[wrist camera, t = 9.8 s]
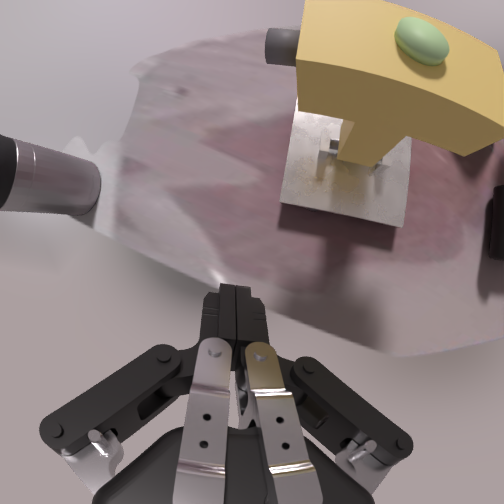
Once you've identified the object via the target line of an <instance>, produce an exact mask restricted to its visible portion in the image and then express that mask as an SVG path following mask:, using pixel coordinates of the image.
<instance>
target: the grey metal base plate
mask: <svg viewBox="0 0 504 504" xmlns="http://www.w3.org/2000/svg"><path fill="white" fill-rule="evenodd" d="M342 122H343V119H339V118H334V117H329V116H324V115H318V114H312V113H306V112H300V111H298V97H297V102H296V108H295V114H294V120H293V126H292V132H291V138H290V144H289V150H288V155H287V161H286V167H285V173H284V178H283V184H282V190H281V195H280V201H279V202H280V203H284V204H289V205H295V206H300V207H305V208H307V209H308V210H310V211H314V212H316V211H320V210H321V211H326V212H330V213H335V214H340V215H345V216H349V217H354V218H359V219H363V220H368V221H372V222H376V223H381V224H385V225H389V226H393V227H397V228H403V223H404V216H405V209H406V201H407V192H408V183H409V172H410V158H411V138H412V137H408V136H406V137H405V138H403V139H402V140H401V141H400V142H399V143H398V144H397V145H396V146H395V147H394V148H393V149H392V150H390V151H389V152H388V153H387V154H386V155H385V156H384V157H383V158H382V159H381V160H380V161H378V162H377V163H376V164H375V165H374V166H373V167H368V166H364V165H360V164H355V163H351V162H347V161H342V160H337V153H338V146H339V138H340V129H341V125H342Z"/></svg>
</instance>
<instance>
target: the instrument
mask: <svg viewBox="0 0 504 504" xmlns="http://www.w3.org/2000/svg"><path fill="white" fill-rule="evenodd" d="M265 58H266V62H267V64H276V65H286V66H295V67H296V73H297V97H298V111H300V112H306V113H312V114H318V115H324V116H329V117H334V118H339V119H343V122H342V125H341V129H340V138H339V146H338V153H337V160H342V161H347V162H351V163H355V164H360V165H364V166H368V167H373V166H374V165H375V164H376V163H377V162H378V161H380V160H381V159H382V158H383V157H384V156H385V155H386V154H387V153H388V152H389V151H390V150H392V149H393V148H394V147H395V146H396V145H397V144H398V143H399V142H400V141H401V140H402V139H403V138H405V137H406V136H408V137H412V138H415V139H418V140H421V141H424V142H427V143H430V144H432V145H435V146H438V147H441V148H443V149H446V150H449V151H451V152H454V153H456V154H459V155H461V156H464V157H465V156H467V155H469V154H471V153H473V152H475V151H478V150H480V149H482V148H484V147H486V146H488V145H490V144H493V143H495V142H497V141H499V140H501V139H503V138H504V73H503V69H502V65H501V61H500V58H499V55H498V52H497V50H495V49H494V48H492V47H490V46H488V45H487V44H485V43H484V42H482V41H480V40H478V39H476V38H475V37H473V36H471V35H469V34H467V33H465V32H463V31H461V30H459V29H457V28H455V27H453V26H450V25H448V24H446V23H444V22H442V21H439V20H437V19H435V18H432V17H430V16H427V15H425V14H422V13H419V12H417V11H414V10H411V9H408V8H405V7H402V6H399V5H396V4H393V3H389V2H386V1H382V0H305V6H304V13H303V18H302V24H301V30H290V29H278V28H269V29H268V31H267V35H266V41H265Z"/></svg>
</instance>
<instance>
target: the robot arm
mask: <svg viewBox="0 0 504 504" xmlns="http://www.w3.org/2000/svg"><path fill="white" fill-rule="evenodd" d="M100 185H101V178H100V173H99V170H98V168H97V167H96V165H95V164H94V163H92V162H90V161H87V160H84V159H81V158H78V157H75V156H72V155H68V154H65V153H62V152H58V151H55V150H52V149H48V148H45V147H41V146H38V145H34V144H31V143H27V142H23V141H20V140H16V139H13V138H8V137H5V136H2V135H0V211H17V212H37V213H54V214H68V215H83V214H85V213H87V212H88V211H89V210H90V209H91V208H92V207H93V206H94V204H95V202H96V200H97V198H98V195H99V191H100ZM230 371H235V380H236V382H235V390H236V398H237V406H238V414H239V427H238V429H235V428H232V427H229V426H228V414H229V400H230V391H229V380H230ZM186 394H189V400H188V405H187V412H186V417H185V424H184V426H183V427H179V428H176V429H173V430H171V431H169V432H167V433H165V434H164V435H163V436H161V437H160V438H159V439H158V440H157V441H156V442H154V443H153V444H152V445H151V446H150V447H149V448H148V449H146V450H145V451H144V452H143V453H142V454H141V455H140V456H138V457H137V458H136V459H135V460H134V461H133V462H131V463H130V464H129V465H128V466H127V467H125V468H124V469H123V470H122V471H121V472H120V473H118V474H117V475H116V476H115V469H116V467H117V465H118V464H119V463H120V462H121V460H122V459H123V455H124V451H123V448H122V446H121V443H122V442H123V441H125V440H126V439H127V438H129V437H130V436H131V435H133V434H134V433H135V432H136V431H138V430H139V429H140V428H141V427H143V426H144V425H145V424H147V423H148V422H149V421H150V420H152V419H153V418H154V417H155V416H157V415H158V414H159V413H160V412H162V411H163V410H164V409H165V408H167V407H168V406H169V405H170V404H172V403H173V402H174V401H175V400H176V399H177V398H178V397H179V396H180V395H186ZM301 426H302V427H303V428H304V429H305V430H307V431H308V432H309V433H310V434H311V435H312V436H313V437H315V438H316V439H317V440H318V441H319V442H320V443H321V444H322V445H324V446H325V447H326V448H327V449H328V450H329V451H331V452H332V453H333V454H334V455H335V456H336V458H335V462H336V463H334V462H333V461H332V460H331V459H330V458H329V457H328V456H327V455H326V454H324V453H323V452H322V451H321V450H320V449H319V448H318V447H317V446H316V445H315V444H314V443H313V442H311V441H310V440H309V439H307V438H306V437H305V436H303V433H302V429H301ZM39 431H40V436H41V438H42V440H43V441H44V442H45V443H46V444H47V445H48V446H49V447H50V448H52V449H53V450H54V451H55V452H56V453H57V454H59V455H60V456H61V457H63V458H64V459H65V461H66V462H67V463H68V465H69V466H70V467H71V469H72V470H73V471H74V472H75V473H76V475H77V476H78V477H79V478H80V480H81V481H82V482H83V483H84V484H85V485H86V487H87V488H88V489H89V490H90V491H91V492H92V493H93V494H94V497H93V501H92V504H375V502H374V499H373V497H372V493H373V492H374V491H375V490H376V488H377V487H378V486H379V484H380V483H381V482H382V480H383V479H384V478H385V476H386V475H387V473H388V472H389V470H390V469H391V468H392V466H394V465H396V464H397V463H398V462H399V461H401V460H403V459H404V458H406V457H408V456H409V455H410V454H411V453H412V450H413V441H412V438H411V437H410V436H409V435H408V434H407V433H406V432H405V431H403V430H402V429H401V428H399V427H398V426H397V425H396V424H394V423H393V422H392V421H390V420H389V419H388V418H387V417H385V416H384V415H383V414H382V413H380V412H379V411H378V410H377V409H375V408H374V407H373V406H372V405H370V404H369V403H368V402H367V401H365V400H364V399H363V398H362V397H361V396H359V395H358V394H357V393H356V392H354V391H353V390H352V389H351V388H349V387H348V386H347V385H346V384H345V383H343V382H342V381H341V380H340V379H339V378H338V377H336V376H335V375H334V374H333V373H332V372H330V371H329V370H328V369H327V368H326V367H324V366H323V365H322V364H321V363H320V362H319V361H317V360H316V359H314V358H312V357H300V358H298V359H297V360H296V361H295V362H294V361H290V360H287V359H284V358H282V357H280V356H278V355H277V354H276V351H275V350H274V348H273V347H271V346H270V344H269V337H268V329H267V322H266V315H265V306H264V304H263V303H262V301H261V300H260V298H253V297H251V288H250V287H246V286H238V285H236V286H235V285H230V284H223V283H220V287H219V293H212V292H209V293H208V294H207V295H206V297H205V298H204V302H203V310H202V319H201V328H200V339H199V341H198V343H197V344H196V345H195V346H193V347H192V348H189V349H185V350H179V351H178V350H176V349H175V348H174V347H172V346H170V345H165V344H160V345H156V346H154V347H152V348H151V349H149V350H148V351H146V352H145V353H143V354H142V355H140V356H139V357H137V358H136V359H134V360H133V361H131V362H130V363H128V364H127V365H125V366H124V367H122V368H121V369H119V370H118V371H116V372H115V373H113V374H112V375H110V376H109V377H107V378H106V379H104V380H103V381H101V382H99V383H98V384H96V385H95V386H93V387H92V388H90V389H89V390H87V391H86V392H84V393H83V394H81V395H79V396H78V397H76V398H75V399H73V400H72V401H70V402H69V403H67V404H65V405H64V406H62V407H61V408H59V409H58V410H56V411H54V412H53V413H51V414H50V415H48V416H46V417H45V418H44V419H43V420H42V422H41V424H40V428H39Z"/></svg>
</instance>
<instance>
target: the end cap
mask: <svg viewBox="0 0 504 504" xmlns="http://www.w3.org/2000/svg"><path fill="white" fill-rule="evenodd" d="M489 257H490V258H493V259H497V260H504V185H500V186H497V187H495V188H494V195H493V218H492V231H491V241H490V249H489Z"/></svg>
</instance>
